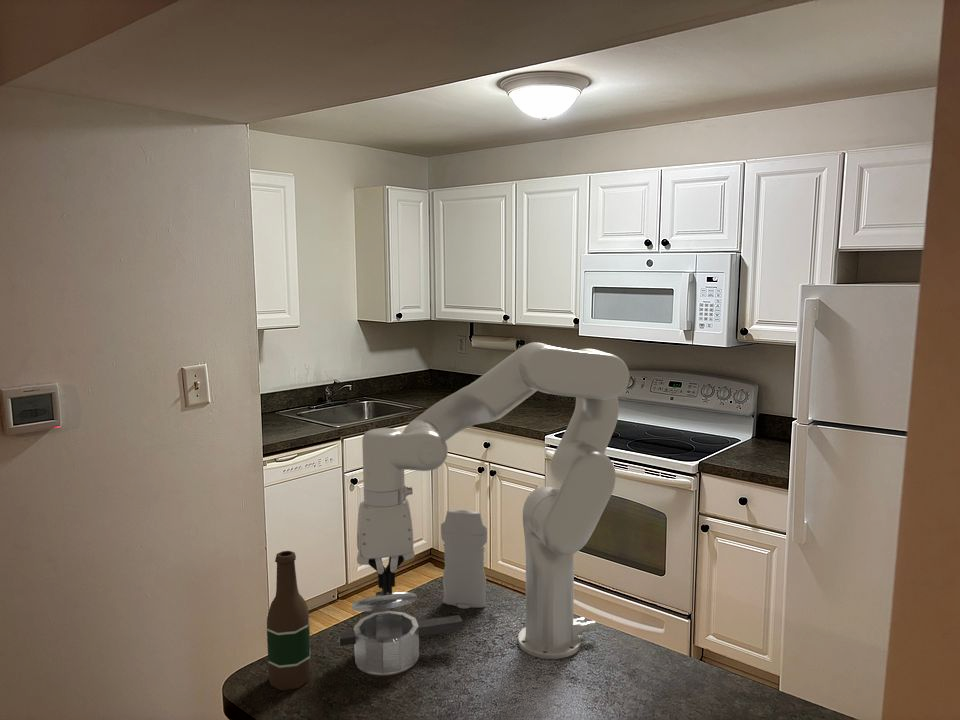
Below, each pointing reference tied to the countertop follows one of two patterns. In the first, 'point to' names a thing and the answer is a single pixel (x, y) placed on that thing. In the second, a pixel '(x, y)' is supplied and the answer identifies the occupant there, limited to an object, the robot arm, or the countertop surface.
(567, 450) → the robot arm
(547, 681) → the countertop surface
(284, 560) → the beer bottle
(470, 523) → the tall pale column
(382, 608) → the lid
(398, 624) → the pot
